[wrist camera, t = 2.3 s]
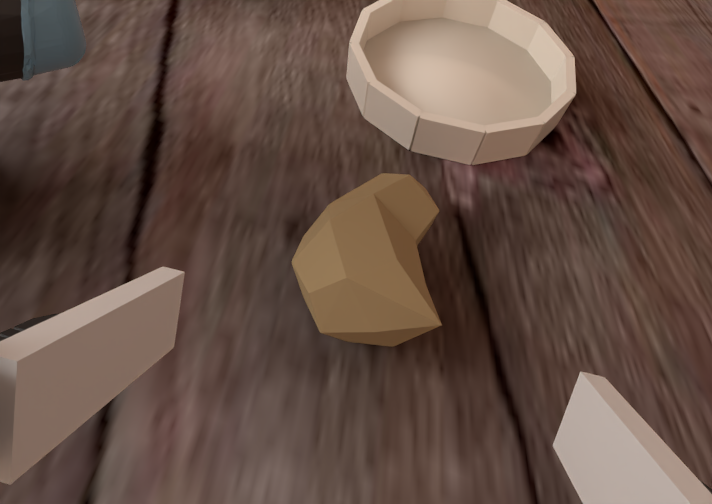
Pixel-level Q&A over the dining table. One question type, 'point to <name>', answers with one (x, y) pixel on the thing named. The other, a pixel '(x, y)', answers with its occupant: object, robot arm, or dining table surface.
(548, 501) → the dining table surface
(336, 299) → the low-poly potato
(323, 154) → the dining table surface
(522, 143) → the cream bowl
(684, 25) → the dining table surface
